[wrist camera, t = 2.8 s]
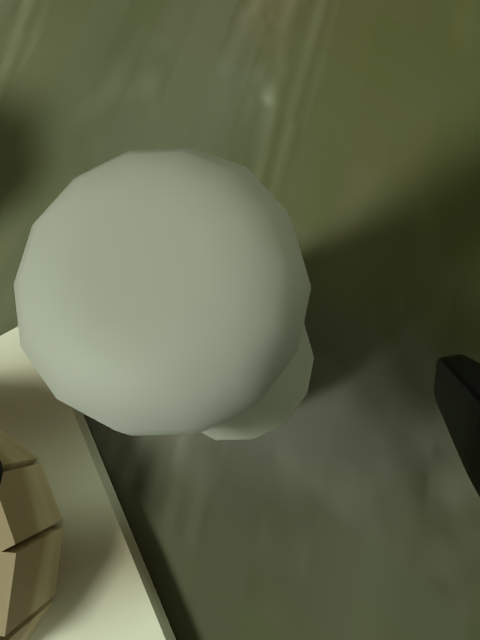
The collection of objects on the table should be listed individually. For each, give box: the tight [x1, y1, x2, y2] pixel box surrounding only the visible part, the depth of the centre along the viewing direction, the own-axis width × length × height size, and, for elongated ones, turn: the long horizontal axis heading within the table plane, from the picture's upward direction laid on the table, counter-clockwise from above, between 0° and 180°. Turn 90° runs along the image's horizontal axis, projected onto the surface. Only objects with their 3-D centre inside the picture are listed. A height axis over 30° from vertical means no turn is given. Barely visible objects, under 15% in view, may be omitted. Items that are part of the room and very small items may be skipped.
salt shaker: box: [14, 147, 314, 440], centre depth 12 cm, size 6×6×13 cm
